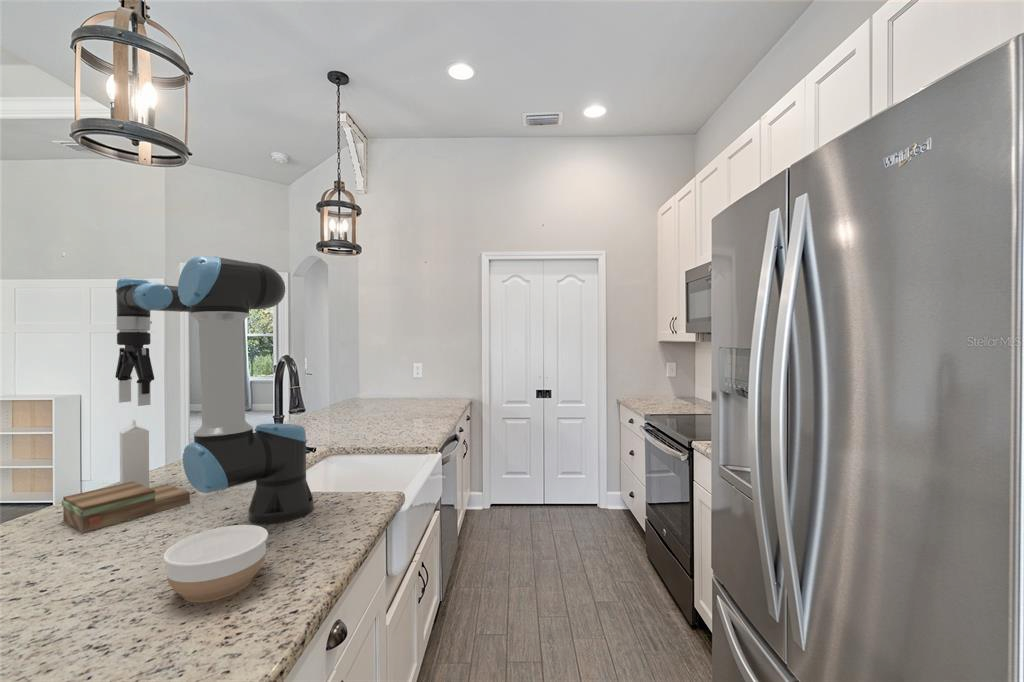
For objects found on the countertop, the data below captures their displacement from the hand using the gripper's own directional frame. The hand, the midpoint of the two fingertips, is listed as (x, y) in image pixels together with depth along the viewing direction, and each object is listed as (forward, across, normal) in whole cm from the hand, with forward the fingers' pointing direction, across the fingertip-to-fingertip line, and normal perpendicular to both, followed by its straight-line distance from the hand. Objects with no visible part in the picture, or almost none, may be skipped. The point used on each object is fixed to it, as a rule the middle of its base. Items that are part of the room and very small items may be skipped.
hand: (134, 403), depth 129 cm
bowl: (+27, -74, +12) cm, 80 cm away
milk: (+27, 0, 0) cm, 27 cm away
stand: (+27, -15, +6) cm, 32 cm away
